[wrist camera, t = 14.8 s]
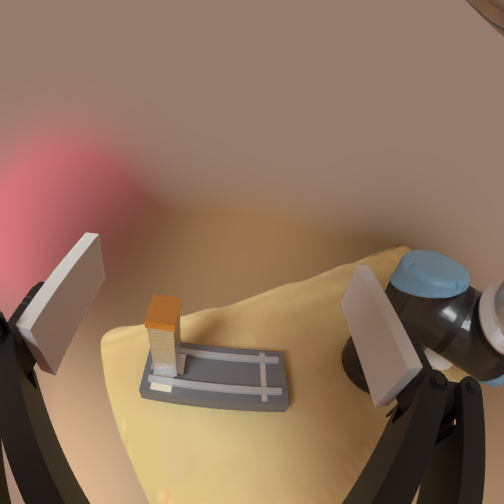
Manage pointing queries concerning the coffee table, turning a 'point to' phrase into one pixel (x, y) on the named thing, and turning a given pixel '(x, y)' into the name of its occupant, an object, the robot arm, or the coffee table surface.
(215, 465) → the coffee table surface
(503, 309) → the robot arm
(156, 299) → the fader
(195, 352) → the console
